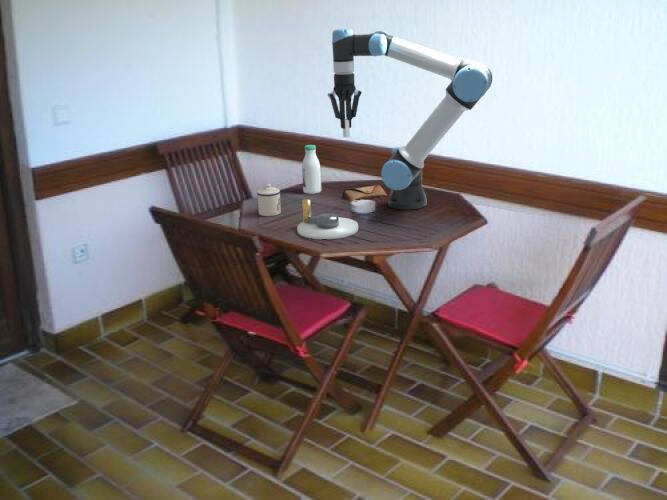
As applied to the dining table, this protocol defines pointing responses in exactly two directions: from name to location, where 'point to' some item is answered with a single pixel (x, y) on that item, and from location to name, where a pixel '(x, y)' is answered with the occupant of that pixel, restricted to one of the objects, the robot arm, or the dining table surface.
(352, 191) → the sunglasses case
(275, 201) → the teacup with lid
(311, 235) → the dial plate
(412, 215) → the dining table surface
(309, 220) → the lever
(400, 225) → the dining table surface
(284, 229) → the dining table surface
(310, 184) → the milk bottle
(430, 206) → the dining table surface
